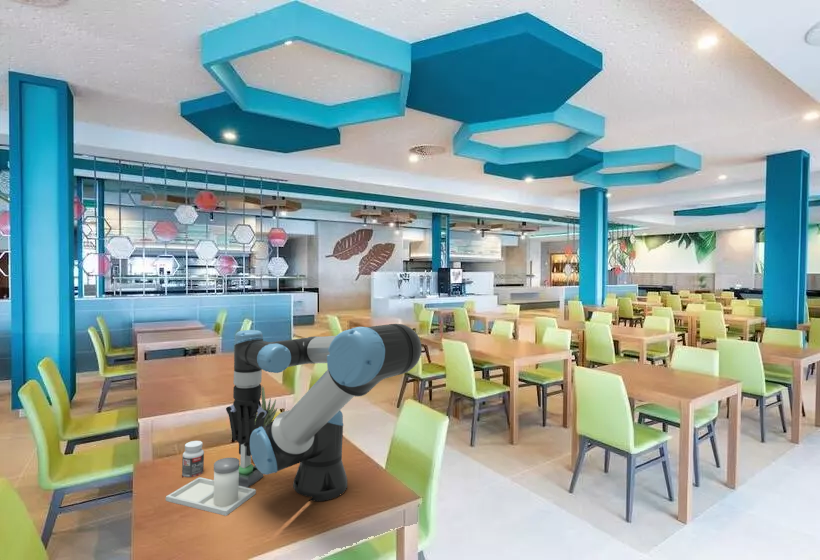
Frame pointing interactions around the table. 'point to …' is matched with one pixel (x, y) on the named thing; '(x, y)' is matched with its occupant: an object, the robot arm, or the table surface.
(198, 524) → the table surface
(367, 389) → the robot arm
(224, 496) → the white canister
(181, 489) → the white divided tray
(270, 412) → the potted plant
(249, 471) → the button
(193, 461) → the pill bottle
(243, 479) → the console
